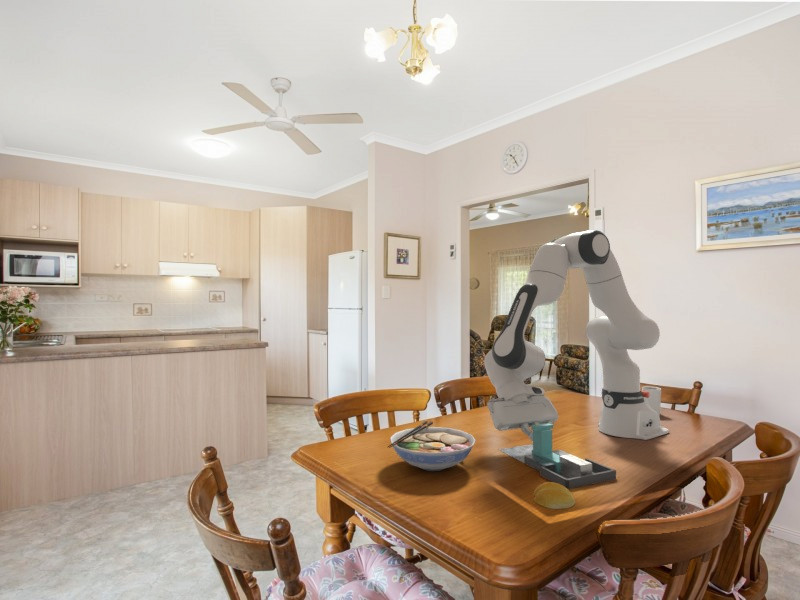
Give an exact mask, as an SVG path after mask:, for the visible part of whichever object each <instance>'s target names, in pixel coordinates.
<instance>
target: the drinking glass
mask: <svg viewBox="0 0 800 600" xmlns="http://www.w3.org/2000/svg"><path fill="white" fill-rule="evenodd" d="M642 391H645V392H649V393H650V396H649V398H646V397H643V398H644V402H645V403H646V404H647V405H648V406H650V407H651V408H652V409H653V410H655V411H656V412H657V413H658V414H659V416H661V405H662V404H661V403H662V402H661V400H662V388H661V387H657V386H648V385H647V386H641V392H642Z"/></svg>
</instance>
